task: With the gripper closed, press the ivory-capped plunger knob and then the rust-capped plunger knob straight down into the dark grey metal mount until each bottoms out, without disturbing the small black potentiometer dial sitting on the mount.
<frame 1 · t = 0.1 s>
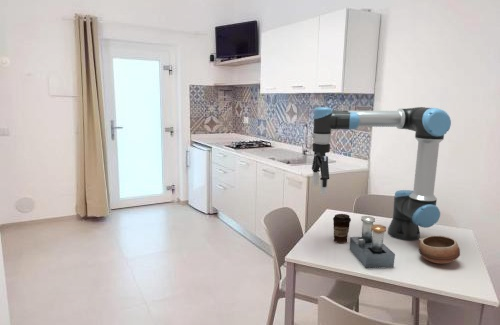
hand: (319, 189, 169), 28 cm above the table, fingers open, 13 cm apart
coffee cup: (340, 241, 183), on the table
rust knob: (377, 238, 158), point 11 cm above the table, slide at 0.0 cm
potentiometer: (361, 245, 164), point 6 cm above the table, touching mount
ivory knob: (367, 228, 168), point 11 cm above the table, slide at 0.0 cm
mount: (370, 257, 165), on the table
bowl: (437, 261, 163), on the table
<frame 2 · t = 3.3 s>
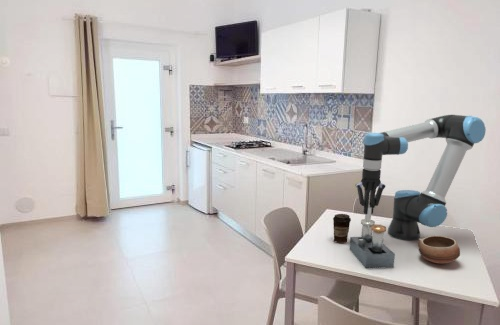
hand: (367, 220, 168), 15 cm above the table, fingers closed
ivory knob: (367, 232, 169), point 10 cm above the table, slide at 1.5 cm, touching gripper
everything else where it was.
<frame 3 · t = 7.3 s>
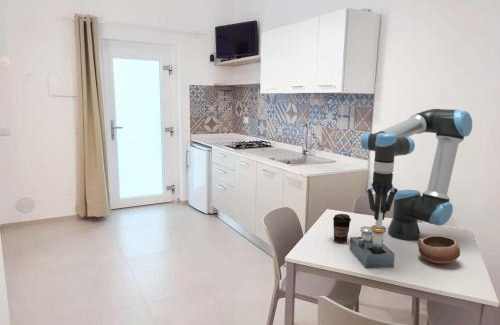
hand: (378, 227, 157), 16 cm above the table, fingers closed
rust knob: (377, 239, 158), point 11 cm above the table, slide at 0.3 cm, touching gripper
ivory knob: (366, 239, 169), point 6 cm above the table, slide at 5.0 cm
everything else where it was.
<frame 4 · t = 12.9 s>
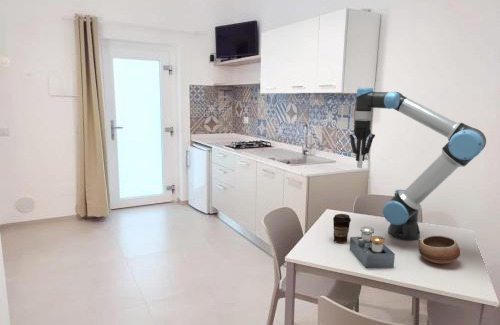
hand: (359, 167, 187), 34 cm above the table, fingers closed
rust knob: (376, 249, 159), point 6 cm above the table, slide at 5.0 cm
everything else where it was.
at the end: ivory knob slide at 5.0 cm; rust knob slide at 5.0 cm; potentiometer moved 0.0 cm from its start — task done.
